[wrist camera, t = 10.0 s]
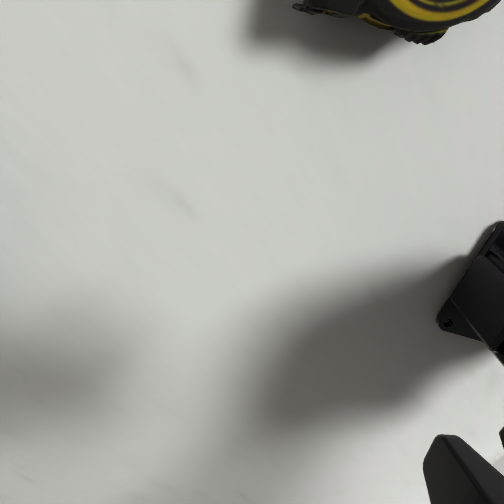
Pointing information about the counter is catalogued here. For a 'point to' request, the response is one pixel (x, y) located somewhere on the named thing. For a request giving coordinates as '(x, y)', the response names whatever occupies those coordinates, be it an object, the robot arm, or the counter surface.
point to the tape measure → (404, 14)
